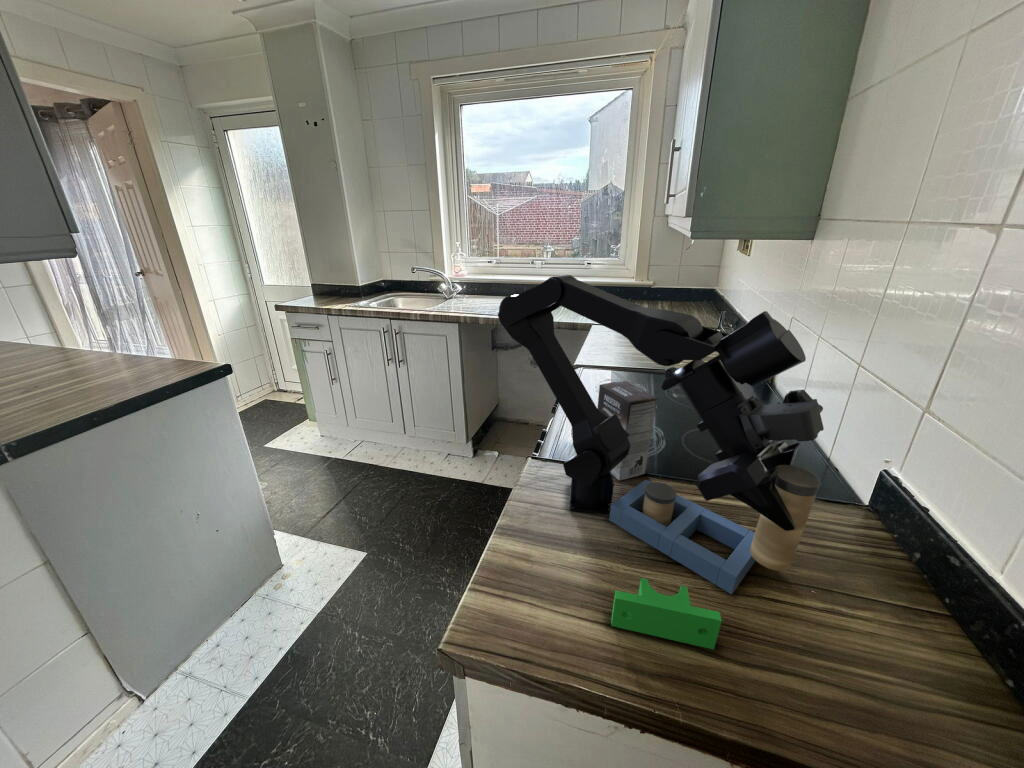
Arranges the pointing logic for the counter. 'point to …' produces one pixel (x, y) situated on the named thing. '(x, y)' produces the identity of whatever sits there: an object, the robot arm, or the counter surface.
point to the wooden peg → (798, 497)
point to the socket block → (678, 532)
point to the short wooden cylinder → (659, 502)
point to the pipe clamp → (666, 616)
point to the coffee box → (630, 423)
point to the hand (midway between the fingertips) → (797, 520)
